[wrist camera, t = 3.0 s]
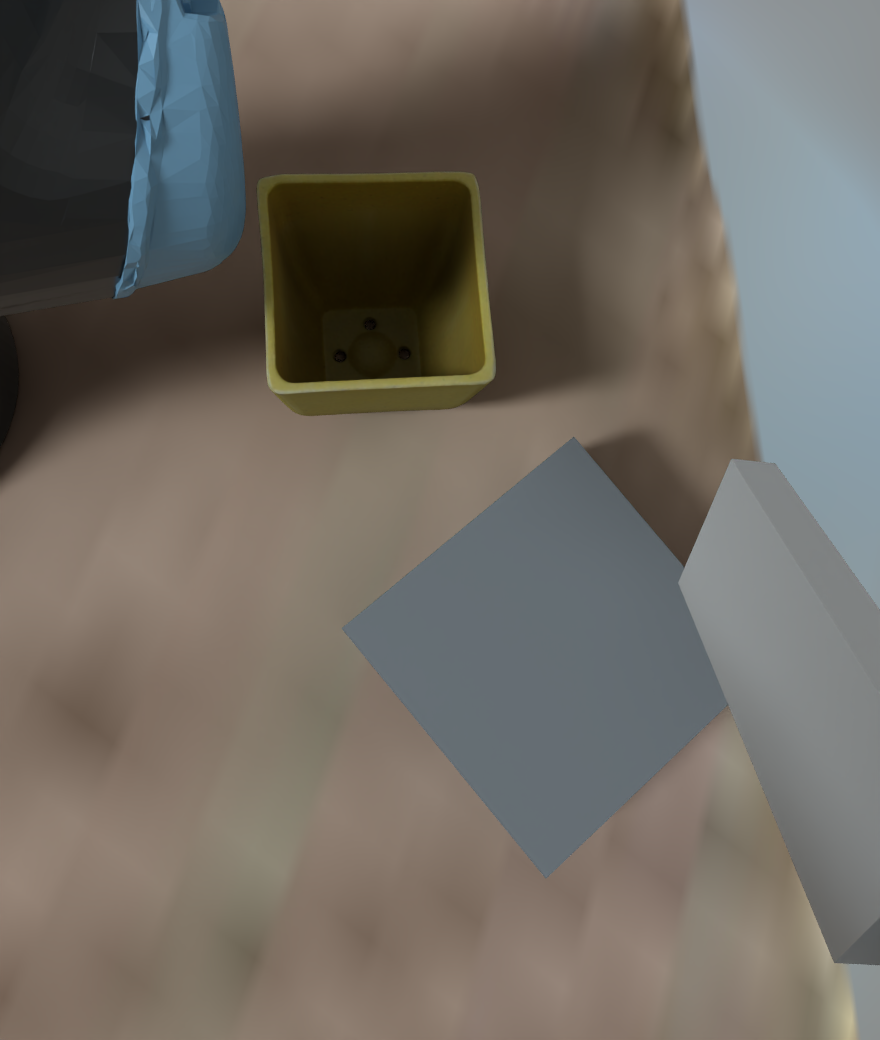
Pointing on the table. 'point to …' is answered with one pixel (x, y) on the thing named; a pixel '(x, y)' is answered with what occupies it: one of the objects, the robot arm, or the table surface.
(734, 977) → the table surface
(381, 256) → the flower pot
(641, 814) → the table surface
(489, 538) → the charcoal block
